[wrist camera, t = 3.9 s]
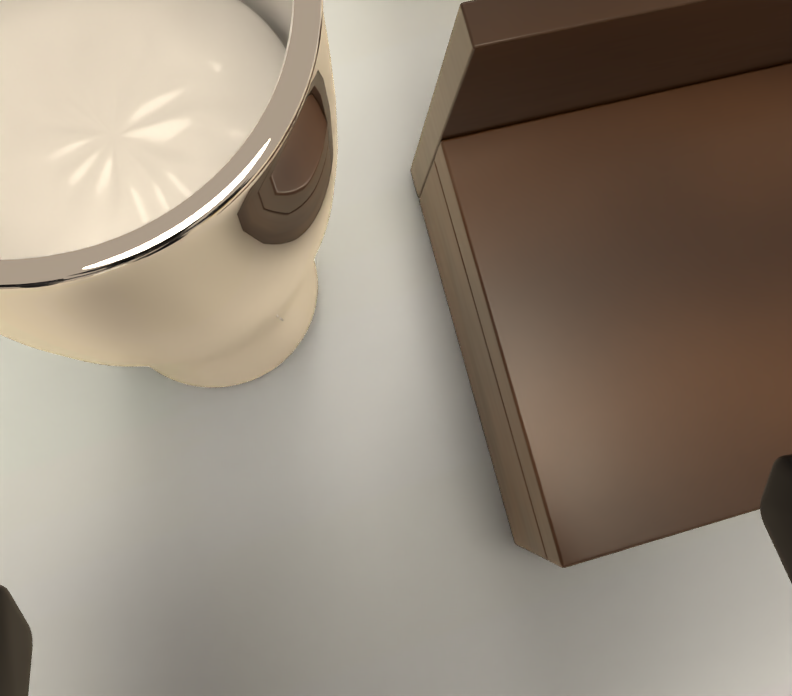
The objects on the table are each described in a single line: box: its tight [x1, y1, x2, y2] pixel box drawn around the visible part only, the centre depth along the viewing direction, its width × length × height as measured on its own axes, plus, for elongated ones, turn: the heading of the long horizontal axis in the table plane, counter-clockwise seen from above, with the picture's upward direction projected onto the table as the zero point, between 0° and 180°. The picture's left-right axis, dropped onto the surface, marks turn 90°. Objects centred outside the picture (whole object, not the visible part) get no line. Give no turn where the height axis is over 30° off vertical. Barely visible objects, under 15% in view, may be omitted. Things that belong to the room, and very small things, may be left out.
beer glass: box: [0, 0, 338, 388], centre depth 15 cm, size 7×7×15 cm
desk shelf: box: [410, 0, 792, 568], centre depth 20 cm, size 12×14×9 cm
